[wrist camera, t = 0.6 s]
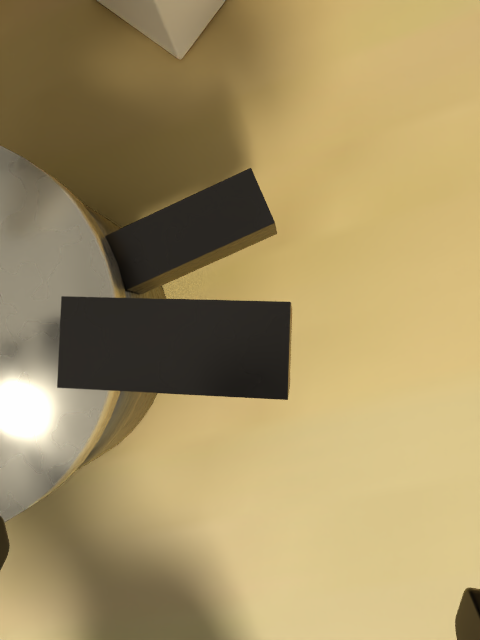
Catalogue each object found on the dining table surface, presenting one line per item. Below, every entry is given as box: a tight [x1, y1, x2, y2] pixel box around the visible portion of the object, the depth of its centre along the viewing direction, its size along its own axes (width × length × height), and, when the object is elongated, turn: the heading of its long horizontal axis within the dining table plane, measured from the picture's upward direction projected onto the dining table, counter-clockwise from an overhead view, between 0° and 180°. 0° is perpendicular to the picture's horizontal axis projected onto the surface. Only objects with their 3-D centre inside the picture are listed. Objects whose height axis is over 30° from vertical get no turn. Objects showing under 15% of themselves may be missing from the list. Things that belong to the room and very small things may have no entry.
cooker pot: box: [75, 168, 277, 471], centre depth 24 cm, size 26×16×7 cm, turn 113°
